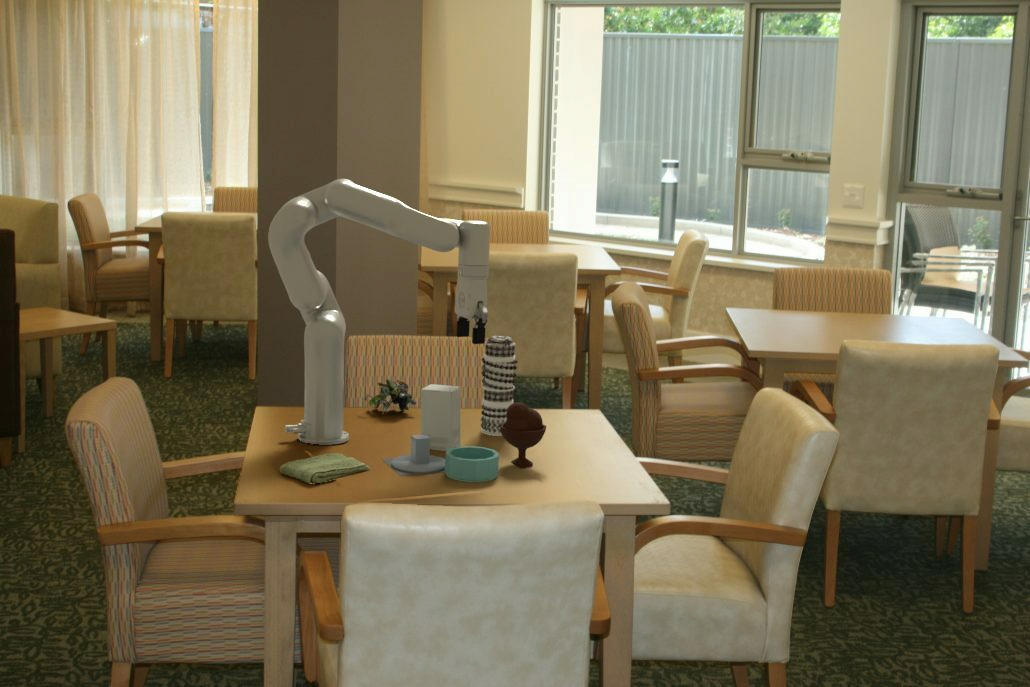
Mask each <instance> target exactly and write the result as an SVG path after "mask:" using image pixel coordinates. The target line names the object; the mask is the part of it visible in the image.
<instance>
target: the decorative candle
mask: <svg viewBox="0 0 1030 687" xmlns="http://www.w3.org/2000/svg"><path fill="white" fill-rule="evenodd" d="M484 344H485V348H484V350H485V352H484V354H483V355H484V357H482V358H481V362H482V363H483V364H482V365H481V369H482V371H481V376H482V377H483V378H482V379H481V383H482V386H481V387H482V389H483V398H482V405H481V409H482V410H481V412H480V413H481V415H482V416H481V417H480V421H481V423H480V427H481V429H480V433H481V434H483V433H484V434H483V435H486V434H487V435H486V436H491V435H492V436H493V437H502V436H501V435H502V434H501V431H500V425H501V424H502V423H503V422H506V421H507V418H506V413H507V409H508V407H509V406H510V405H511V404H513V403H514V398H513V397H514V390H515V389H516V387H515V385H513V384H515V383H516V382H517V380H516V379H515V377H517V374H516V373H514V371H516V370H517V369H518V366H516V364H518V360H517V359H516V354H515V352H516V351H515V350H516V348H515V347H516V344H517V343H515V342H514V341H513V339H512V337H510V336H506V335H492V336H489V338H487V340H485V343H484ZM492 436H491V437H492Z"/></svg>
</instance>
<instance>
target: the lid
mask: <svg viewBox="0 0 1030 687" xmlns="http://www.w3.org/2000/svg"><path fill="white" fill-rule="evenodd" d="M410 436H411V437H410V454H405V455H399V456H397V457H394V459H393V458H392V459H393V460H392V467H393V468H395V469H397V470H400V471H404V472H410V473H433V472H439V471H442V470H444V469H445V458H443V457H442V456H440V457H438V456H433V454H430V452H431V449H430V438H429V437H428V436H427V435H421V434H413V435H412V434H411V435H410ZM433 474H434V473H433Z"/></svg>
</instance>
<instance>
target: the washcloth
mask: <svg viewBox="0 0 1030 687" xmlns="http://www.w3.org/2000/svg"><path fill="white" fill-rule="evenodd" d="M370 470H371V466H369V465H366V463H364V462H361V461H359V460H357V459H356V458H354V457H353V456H352V457H350V456H348V457H347V456H345V455H344V454H342V453H339V452H337V453H336V452H333V453H325V454H319V455H317V456H312V457H309V458H308V457H307V458H304V459H295V460H292V461H287V462H286V463H283V464H282V465H280V467H279V472H280V474H282V473H283V474H286V475H285V476H287V475H289V476H291V477H296V478H295V479H297V478H298V479H297V480H299V479H301V480H302V481H305V482H307V483H312V484H313V483H320V484H323V483H322V482H325V481H329V480H333V479H337V478H339V477H343V476H347V475H351V474H352V475H353V474H355V473H356V474H357V473H360V472H365V471H367V472H368V471H370ZM283 474H282V475H283ZM289 476H288V477H289ZM301 480H300V481H301ZM302 481H301V482H302ZM333 481H334V480H333ZM305 482H304V483H305ZM307 483H306V484H307ZM325 483H326V482H325ZM312 484H311V485H312Z"/></svg>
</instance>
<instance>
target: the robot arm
mask: <svg viewBox="0 0 1030 687" xmlns="http://www.w3.org/2000/svg"><path fill="white" fill-rule="evenodd" d="M338 217H341V218H344V219H346V220H350V221H353V222H356V223H359V224H361V225H365V226H368V227H369V228H373V229H375V230H378V231H380V232H384V233H386V234H388V235H390V236H394V237H398V238H400V239H403V240H405V241H408V242H410V243H413V244H415V245H418V246H421V247H424V248H426V249H429V250H431V251H435V252H439V253H450V252H451V251H453V250H454V249H455V248H457V249H458V257H457V258H458V259H457V260H458V261H457V281H456V286H455V288H456V289H455V296H454V313H455V314H456V337H457V338H462V337H463V338H465V337H469V336H470V322H471V321H470V320H472V324H473V327H472V331H471V332H472V335H471V343H472V344H473V345H482V344H483V345H484V344H485V342H486V329H487V323H488V316H489V311H488V283H487V279H489V270H490V268H489V267H490V264H489V263H490V246H491V245H490V243H491V242H490V241H491V225H490V224H489V222H487V221H485V220H484V221H483V220H458V219H452V218H448V217H447V218H446V217H443V218H442V217H441V218H438V217H435V216H431V215H428V214H426V213H424V212H421V211H418V210H416V209H414V208H412V207H410V206H408V205H407V204H406V203H403V202H402V201H400V200H399V199H397V198H395V197H393V196H390V195H387V194H384V193H381V192H378V191H375V190H373V189H369V188H367V187H364V186H361V185H359V184H356V183H355V182H354V181H352V180H350V179H347V178H338V179H334V180H333V181H330V182H329V183H327V184H324V185H323V186H320V187H317V188H315V189H312V190H310V191H308V192H305V193H303V194H300V195H298V196H296V197H293V198H291V199H290V200H288V201H287V202H286V203H285V204H283V205H282V206H281V208H280V209H279V210H278V211H277V212H276V214H275V215H274V217H273V218H272V220H271V222H270V224H269V228H268V229H269V230H268V232H267V234H268V235H267V240H268V247H269V249H270V254H271V255H272V258H273V261H274V263H275V265H276V268H277V270H278V274H279V276H280V278H281V281H282V283H283V285H284V288H285V290H286V292H287V295H288V298H289V301H290V302H291V304H292V305H293V307H295V308H296V309H298V311H299V312H300V314H301V317H302V320H304V323H305V328H304V334H303V335H304V336H303V349H304V352H303V353H304V404H303V406H304V410H303V412H304V416H303V417H304V418H303V419H300V422H298V423H297V424H286V425H284V433H285V434H288V433H289V434H291V433H292V435H297V440H298V439H299V440H300V441H299V440H298V441H299V442H301V441H302V442H301V443H303V442H305V443H304V444H307V443H311V444H310V445H313V444H319V445H318V446H334V445H339V444H344V443H346V442H348V441H349V440H350V434H349V433H348V432H347V431H345V430H344V393H345V392H344V387H345V386H344V385H345V384H344V382H345V379H344V378H345V377H344V376H345V375H344V372H345V367H344V366H345V362H344V361H345V357H344V356H345V353H344V352H345V336H346V332H347V331H346V330H347V325H346V319H345V317H344V315H343V312H342V310H341V307H340V305H339V303H338V301H337V299H336V297H335V296H336V295H335V293H334V291H333V289H332V287H331V284H330V283H329V280H328V278H327V277H326V276H325V275H324V273H322V272H321V271H319V270H317V268H316V266H315V264H314V261H313V259H312V256H311V254H310V253H311V252H309V250H308V247H307V245H306V243H305V237H306V234H307V233H308V232H310V231H311V229H312V228H315V227H318V226H319V225H322V224H324V223H326V222H327V223H328V221H332V220H333V219H336V218H338ZM333 444H334V445H333Z"/></svg>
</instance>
